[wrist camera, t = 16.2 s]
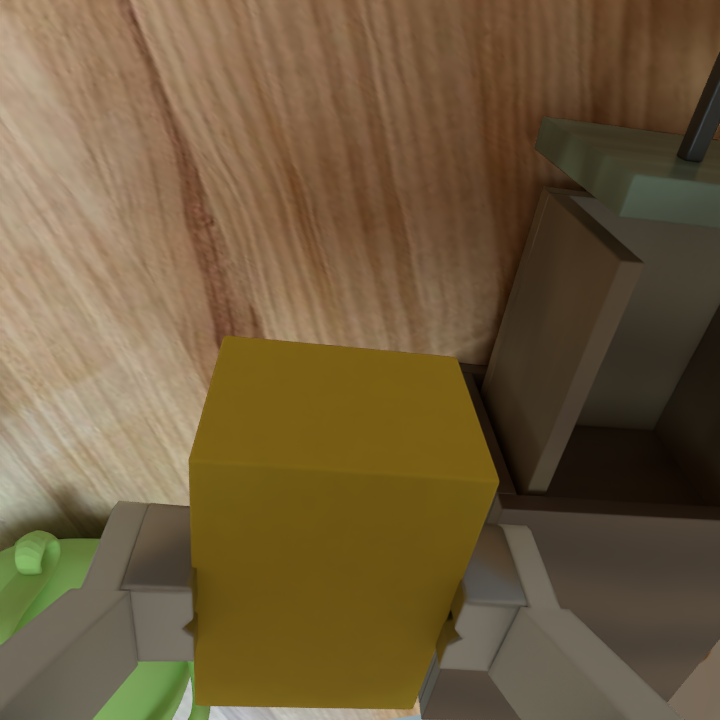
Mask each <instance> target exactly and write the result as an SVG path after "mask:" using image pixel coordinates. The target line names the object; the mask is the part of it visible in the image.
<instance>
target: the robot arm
mask: <svg viewBox="0 0 720 720" xmlns="http://www.w3.org/2000/svg"><path fill="white" fill-rule="evenodd" d="M197 597H198V587H197V568H194V567H192V564H191V529H190V506H179V505H167V504H156V503H139V502H126V501H119V502H118V503H117V504H116V505H115V507H114V508H113V509H112V512H111V514H110V517H109V519H108V521H107V524H106V526H105V529H104V531H103V534H102V536H101V539H100V541H99V544H98V546H97V549H96V551H95V554H94V556H93V559H92V561H91V563H90V566H89V568H88V571H87V573H86V576H85V578H84V581H83V583H82V586H81V588H80V589H75V588H70V589H69V590H68V591H67V592H65V593H64V594H63V595H62V596H60V597H59V598H58V599H57V600H55V601H54V602H53V603H52V604H51V605H49V606H48V607H47V608H46V609H44V610H43V611H42V612H41V613H40V614H38V615H37V616H36V617H35V618H33V619H32V620H31V621H30V622H28V623H27V624H26V625H25V626H24V627H22V628H21V629H20V630H19V631H17V632H16V633H15V634H14V635H13V636H11V637H10V638H9V639H8V640H6V641H5V642H4V643H3V644H1V645H0V720H92V719H93V718H94V717H95V716H96V715H97V713H98V712H99V711H100V710H101V709H102V707H103V706H104V705H105V704H106V703H107V701H108V700H109V699H110V698H111V697H112V696H113V694H114V693H115V692H116V691H117V690H118V688H119V687H120V686H121V685H122V684H123V683H124V681H125V680H126V679H127V678H128V677H129V675H130V674H131V673H132V672H133V671H134V670H135V668H136V667H137V666H138V662H194V657H195V652H196V647H197V642H198V613H196V612H195V606H196V602H197ZM450 608H451V610H450V613H449V615H448V618H447V620H446V621H445V622H444V623H443V626H442V629H441V632H440V634H439V637H438V640H437V642H436V645H435V646H436V652H437V657H438V663H439V668H441V669H459V670H476V671H489V672H488V675H489V676H490V678H491V679H492V680H493V682H494V683H495V685H496V686H497V687H498V689H499V690H500V692H501V693H502V694H503V696H504V697H505V699H506V700H507V701H508V703H509V704H510V705H511V707H512V708H513V710H514V711H515V712H516V714H517V715H518V717H519V718H520V719H521V720H685V719H684V718H682V717H681V716H680V715H679V714H678V713H677V712H676V711H675V710H674V709H673V708H672V707H671V706H670V705H669V704H668V703H667V702H666V701H665V700H664V699H663V698H662V697H660V696H659V695H658V694H657V693H656V692H655V691H654V690H653V689H652V688H651V687H650V686H649V685H648V684H647V683H646V682H645V681H644V680H643V679H642V678H641V677H640V676H638V675H637V674H636V673H635V672H634V671H633V670H632V669H631V668H630V667H629V666H628V665H627V664H626V663H625V662H624V661H623V660H622V659H621V658H620V657H619V656H617V655H616V654H615V653H614V652H613V651H612V650H611V649H610V648H609V647H608V646H607V645H606V644H605V643H604V642H603V641H602V640H601V639H600V638H599V637H598V636H597V635H595V634H594V633H593V632H592V631H591V630H590V629H589V628H588V627H587V626H586V625H585V624H584V623H583V622H582V621H581V620H580V619H579V618H578V617H577V616H576V615H575V614H573V613H572V612H571V611H570V610H569V609H561V608H560V606H559V603H558V600H557V598H556V595H555V592H554V590H553V587H552V585H551V582H550V579H549V577H548V574H547V571H546V569H545V566H544V564H543V561H542V558H541V556H540V553H539V550H538V548H537V545H536V543H535V540H534V537H533V535H532V532H531V530H530V529H529V528H528V527H527V526H524V525H506V524H498V525H497V524H495V523H484V524H483V527H482V529H481V532H480V534H479V537H478V540H477V542H476V545H475V547H474V550H473V553H472V555H471V558H470V561H469V563H468V566H467V568H466V571H465V574H464V576H463V579H461V580H460V582H459V584H458V587H457V590H456V592H455V595H454V597H453V600H452V602H451V605H450Z"/></svg>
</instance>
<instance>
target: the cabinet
mask: <svg viewBox="0 0 720 720" xmlns="http://www.w3.org/2000/svg"><path fill="white" fill-rule="evenodd" d="M459 366H460V369H461V371H462V374H463V377H464V380H465V383H466V386H467V389H468V392H469V394H470V397H471V400H472V403H473V406H474V409H475V412H476V414H477V417H478V420H479V423H480V426H481V429H482V432H483V435H484V437H485V440H486V443H487V446H488V449H489V452H490V455H491V458H492V460H493V463H494V466H495V469H496V472H497V475H498V478H499V485H498V487H497V490H496V493H495V495H494V498H493V500H492V503H491V506H490V508H489V511H488V513H487V516H486V519H485V521H484V523H495V524H497V525H498V524H506V525H524V526H527V527H528V528H529V529H530V530H531V532H532V535H533V537H534V540H535V543H536V545H537V548H538V550H539V553H540V556H541V558H542V561H543V564H544V566H545V569H546V571H547V574H548V577H549V579H550V582H551V585H552V587H553V590H554V592H555V595H556V598H557V600H558V603H559V606H560V608H561V609H569V610H570V611H571V612H572V613H573V614H575V615H576V616H577V617H578V618H579V619H580V620H581V621H582V622H583V623H584V624H585V625H586V626H587V627H588V628H589V629H590V630H591V631H592V632H593V633H594V634H595V635H597V636H598V637H599V638H600V639H601V640H602V641H603V642H604V643H605V644H606V645H607V646H608V647H609V648H610V649H611V650H612V651H613V652H614V653H615V654H616V655H617V656H619V657H620V658H621V659H622V660H623V661H624V662H625V663H626V664H627V665H628V666H629V667H630V668H631V669H632V670H633V671H634V672H635V673H636V674H637V675H638V676H640V677H641V678H642V679H643V680H644V681H645V682H646V683H647V684H648V685H649V686H650V687H651V688H652V689H653V690H654V691H655V692H656V693H657V694H658V695H659V696H660V697H662V698H663V699H664V700H665V701H666V702H668V701H669V700H670V698H671V697H672V696H673V695H674V694H675V692H676V691H677V690H678V689H679V687H680V686H681V685H682V684H683V683H684V681H685V680H686V679H687V678H688V677H689V675H690V674H691V673H692V672H693V671H694V669H695V668H696V667H697V666H698V665H699V663H700V662H701V661H702V660H703V659H704V657H705V656H706V655H707V654H708V653H709V651H710V650H711V649H712V648H713V647H714V645H715V644H716V643H717V642H718V640H719V639H720V507H716V506H698V505H681V504H664V503H646V502H629V501H612V500H594V499H577V498H560V497H542V496H525V495H517V494H516V491H515V488H514V485H513V483H512V480H511V477H510V475H509V472H508V469H507V467H506V464H505V461H504V459H503V456H502V453H501V451H500V448H499V445H498V443H497V440H496V437H495V435H494V432H493V429H492V426H491V424H490V421H489V418H488V416H487V413H486V410H485V408H484V405H483V402H482V400H481V397H480V391H481V388H482V384H483V381H484V378H485V375H486V371H487V368H488V366H479V365H467V364H459ZM488 672H489V671H476V670H459V669H441V668H439V663H438V657H437V652H436V649H435V652H434V655H433V657H432V660H431V662H430V665H429V668H428V670H427V673H426V676H425V678H424V681H423V683H422V686H421V689H420V691H419V694H418V697H419V703H420V712H421V719H423V720H521V719H520V718H519V717H518V715H517V714H516V712H515V711H514V710H513V708H512V707H511V705H510V704H509V703H508V701H507V700H506V699H505V697H504V696H503V694H502V693H501V692H500V690H499V689H498V687H497V686H496V685H495V683H494V682H493V680H492V679H491V678H490V676H489V675H488Z"/></svg>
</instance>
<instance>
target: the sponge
mask: <svg viewBox="0 0 720 720" xmlns="http://www.w3.org/2000/svg"><path fill="white" fill-rule="evenodd" d="M498 485H499V478H498V475H497V472H496V469H495V466H494V463H493V460H492V458H491V455H490V452H489V449H488V446H487V443H486V440H485V437H484V435H483V432H482V429H481V426H480V423H479V420H478V417H477V414H476V412H475V409H474V406H473V403H472V400H471V397H470V394H469V392H468V389H467V386H466V383H465V380H464V377H463V374H462V371H461V369H460V366H459V363H458V360H457V358H455V357H449V356H438V355H427V354H417V353H406V352H396V351H385V350H374V349H364V348H353V347H342V346H332V345H321V344H311V343H300V342H289V341H279V340H268V339H258V338H247V337H236V336H224V338H223V341H222V344H221V348H220V351H219V355H218V358H217V362H216V365H215V369H214V372H213V376H212V380H211V383H210V387H209V390H208V394H207V397H206V401H205V404H204V408H203V411H202V415H201V419H200V422H199V426H198V429H197V433H196V436H195V440H194V443H193V447H192V451H191V454H190V458H189V490H190V529H191V564H192V567H194V568H197V587H198V597H197V602H196V606H195V612H196V613H198V642H197V647H196V652H195V657H194V685H195V704H196V705H197V706H243V707H300V708H357V709H413V707H414V704H415V702H416V699H417V696H418V694H419V691H420V689H421V686H422V683H423V681H424V678H425V676H426V673H427V670H428V668H429V665H430V662H431V660H432V657H433V655H434V652H435V649H436V646H435V645H436V642H437V640H438V637H439V634H440V632H441V629H442V626H443V623H444V622H445V621H446V620H447V618H448V615H449V613H450V610H451V608H450V605H451V602H452V600H453V597H454V595H455V592H456V590H457V587H458V584H459V582H460V580H461V579H463V576H464V574H465V571H466V568H467V566H468V563H469V561H470V558H471V555H472V553H473V550H474V547H475V545H476V542H477V540H478V537H479V534H480V532H481V529H482V527H483V524H484V521H485V519H486V516H487V513H488V511H489V508H490V506H491V503H492V500H493V498H494V495H495V493H496V490H497V487H498Z"/></svg>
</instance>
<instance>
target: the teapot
mask: <svg viewBox="0 0 720 720" xmlns="http://www.w3.org/2000/svg"><path fill="white" fill-rule="evenodd" d="M99 541H100V539H57V538H56V537H55V536H54V535H52V534H50V533H48V532H44V531H39V530H37V531H33V532H30V533H28V534H26V535H24V536H23V537H21V538H20V539H18V540H17V541H16V542H15V543H14V546H13V547H10V548H7V549H5V550H3V551H1V552H0V645H1V644H3V643H4V642H5V641H6V640H8V639H9V638H10V637H11V636H13V635H14V634H15V633H16V632H17V631H19V630H20V629H21V628H22V627H24V626H25V625H26V624H27V623H28V622H30V621H31V620H32V619H33V618H35V617H36V616H37V615H38V614H40V613H41V612H42V611H43V610H44V609H46V608H47V607H48V606H49V605H51V604H52V603H53V602H54V601H55V600H57V599H58V598H59V597H60V596H62V595H63V594H64V593H65V592H67V591H68V590H69V589H70V588H75V589H80V588H81V586H82V583H83V581H84V578H85V576H86V573H87V571H88V568H89V566H90V563H91V561H92V559H93V556H94V554H95V551H96V549H97V546H98V544H99ZM190 676H191V682H192V692H193V703H192V710H191V714H190V717H189V718H188V720H208V718H209V713H210V706H197V705H196V704H195V685H194V662H138V666H137V667H136V668H135V670H134V671H133V672H132V673H131V674H130V675H129V677H128V678H127V679H126V680H125V681H124V683H123V684H122V685H121V686H120V687H119V688H118V690H117V691H116V692H115V693H114V694H113V696H112V697H111V698H110V699H109V700H108V701H107V703H106V704H105V705H104V706H103V707H102V709H101V710H100V711H99V712H98V713H97V715H96V716H95V717H94V718H93V719H92V720H172V718H173V717H174V715H175V713H176V711H177V709H178V707H179V705H180V702H181V700H182V697H183V695H184V692H185V690H186V687H187V684H188V681H189V678H190Z"/></svg>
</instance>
